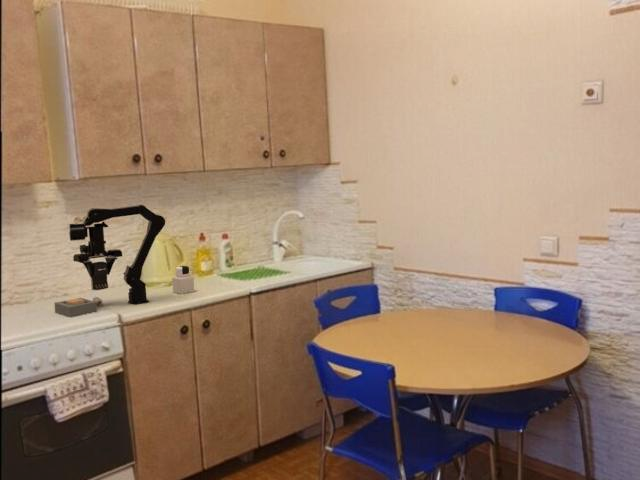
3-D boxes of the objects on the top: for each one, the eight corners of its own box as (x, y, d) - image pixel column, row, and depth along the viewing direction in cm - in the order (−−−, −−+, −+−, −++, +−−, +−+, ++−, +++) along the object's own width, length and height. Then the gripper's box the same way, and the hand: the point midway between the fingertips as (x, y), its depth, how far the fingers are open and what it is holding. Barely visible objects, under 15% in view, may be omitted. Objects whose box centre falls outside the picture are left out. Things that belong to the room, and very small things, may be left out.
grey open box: (81, 307, 255) (80, 297, 255) (97, 311, 246) (96, 302, 245) (55, 312, 247) (54, 302, 247) (70, 317, 238) (69, 307, 237)
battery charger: (96, 291, 250) (94, 263, 248) (90, 290, 252) (88, 262, 251) (111, 288, 255) (109, 261, 254) (105, 287, 258) (104, 260, 256)
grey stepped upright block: (186, 290, 284) (184, 264, 283) (194, 291, 279) (193, 265, 278) (172, 292, 279) (171, 266, 278) (181, 294, 274) (179, 268, 273)
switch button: (78, 303, 250) (77, 298, 250) (84, 305, 246) (84, 300, 246) (66, 306, 246) (65, 300, 246) (72, 308, 242) (72, 302, 242)
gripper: (108, 235, 263) (111, 271, 265) (66, 240, 250) (69, 277, 252) (121, 236, 256) (124, 273, 257) (77, 241, 242) (81, 280, 244)
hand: (99, 276), depth 253 cm, fingers closed on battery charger, 7 cm apart
